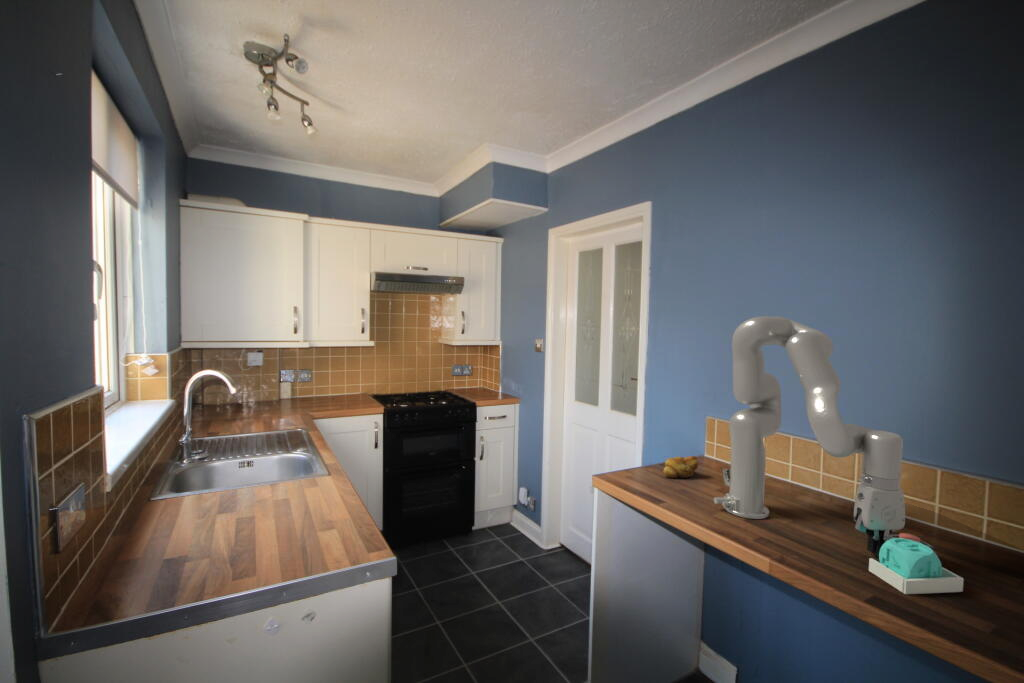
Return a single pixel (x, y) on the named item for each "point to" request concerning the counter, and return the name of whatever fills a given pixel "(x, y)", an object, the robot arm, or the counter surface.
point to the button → (909, 537)
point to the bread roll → (680, 467)
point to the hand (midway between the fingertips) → (875, 553)
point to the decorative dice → (910, 559)
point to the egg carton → (726, 476)
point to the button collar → (920, 540)
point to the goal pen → (918, 580)
